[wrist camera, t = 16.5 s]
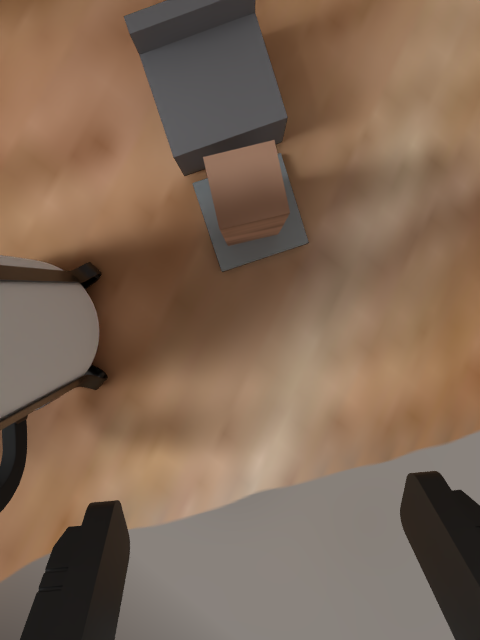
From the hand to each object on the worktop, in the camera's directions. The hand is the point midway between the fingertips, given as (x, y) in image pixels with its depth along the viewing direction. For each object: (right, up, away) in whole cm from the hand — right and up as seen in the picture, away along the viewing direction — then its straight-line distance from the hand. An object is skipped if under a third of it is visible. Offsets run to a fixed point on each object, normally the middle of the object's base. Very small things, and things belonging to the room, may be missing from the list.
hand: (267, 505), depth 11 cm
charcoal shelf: (-3, +24, +23) cm, 33 cm away
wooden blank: (0, +14, +23) cm, 27 cm away
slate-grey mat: (0, +15, +24) cm, 28 cm away
